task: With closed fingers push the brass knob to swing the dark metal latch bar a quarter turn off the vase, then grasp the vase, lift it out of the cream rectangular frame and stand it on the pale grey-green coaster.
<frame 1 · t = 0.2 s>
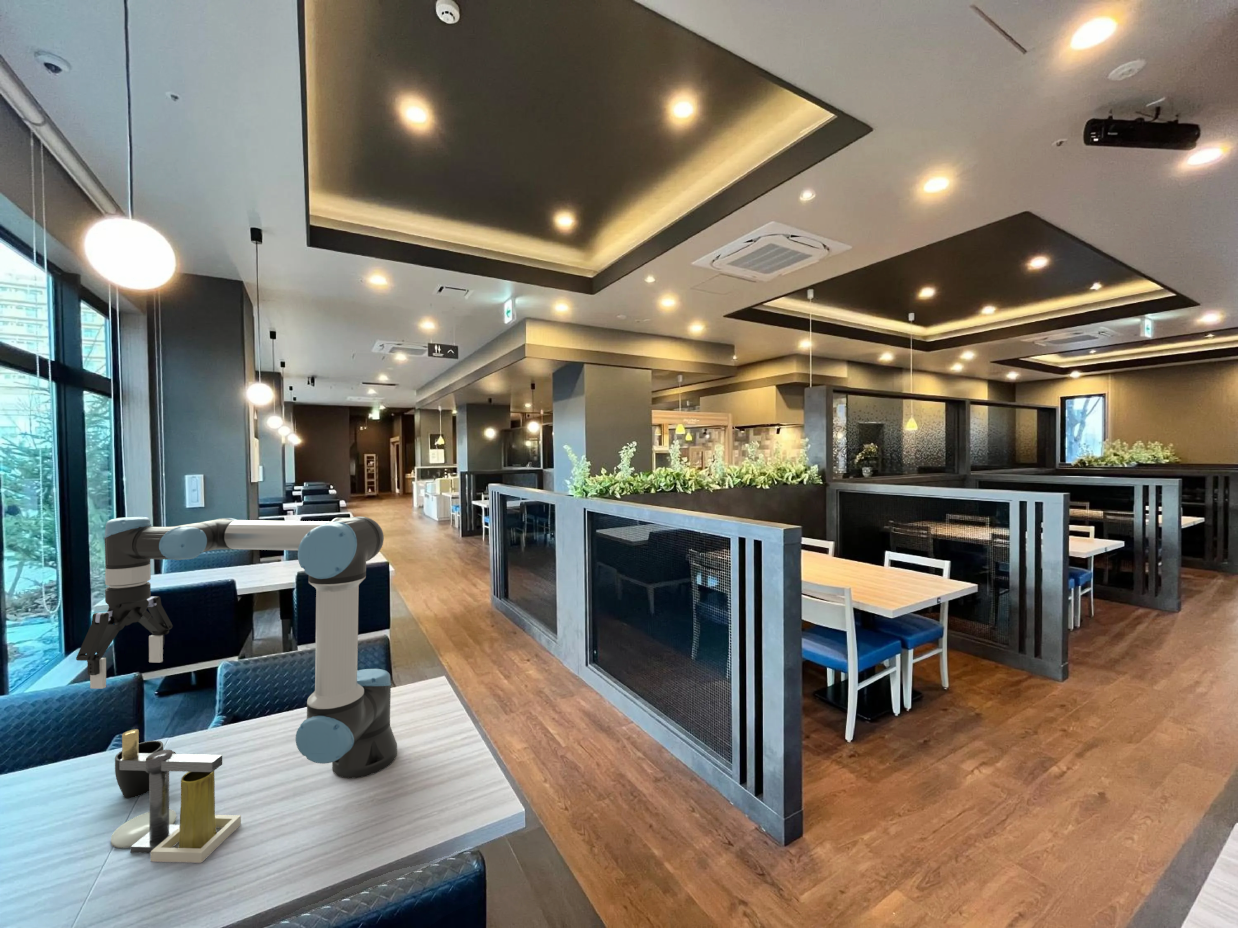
hand: (128, 674, 115), 28 cm above the table, fingers open, 13 cm apart
mug: (147, 790, 117), on the table
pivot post: (159, 840, 102), on the table
latch bar: (170, 750, 101), point 19 cm above the table, hinge at 0.0°
cream rectangular frame: (197, 841, 102), on the table
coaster: (144, 829, 105), on the table
vase: (197, 842, 102), resting in cream rectangular frame
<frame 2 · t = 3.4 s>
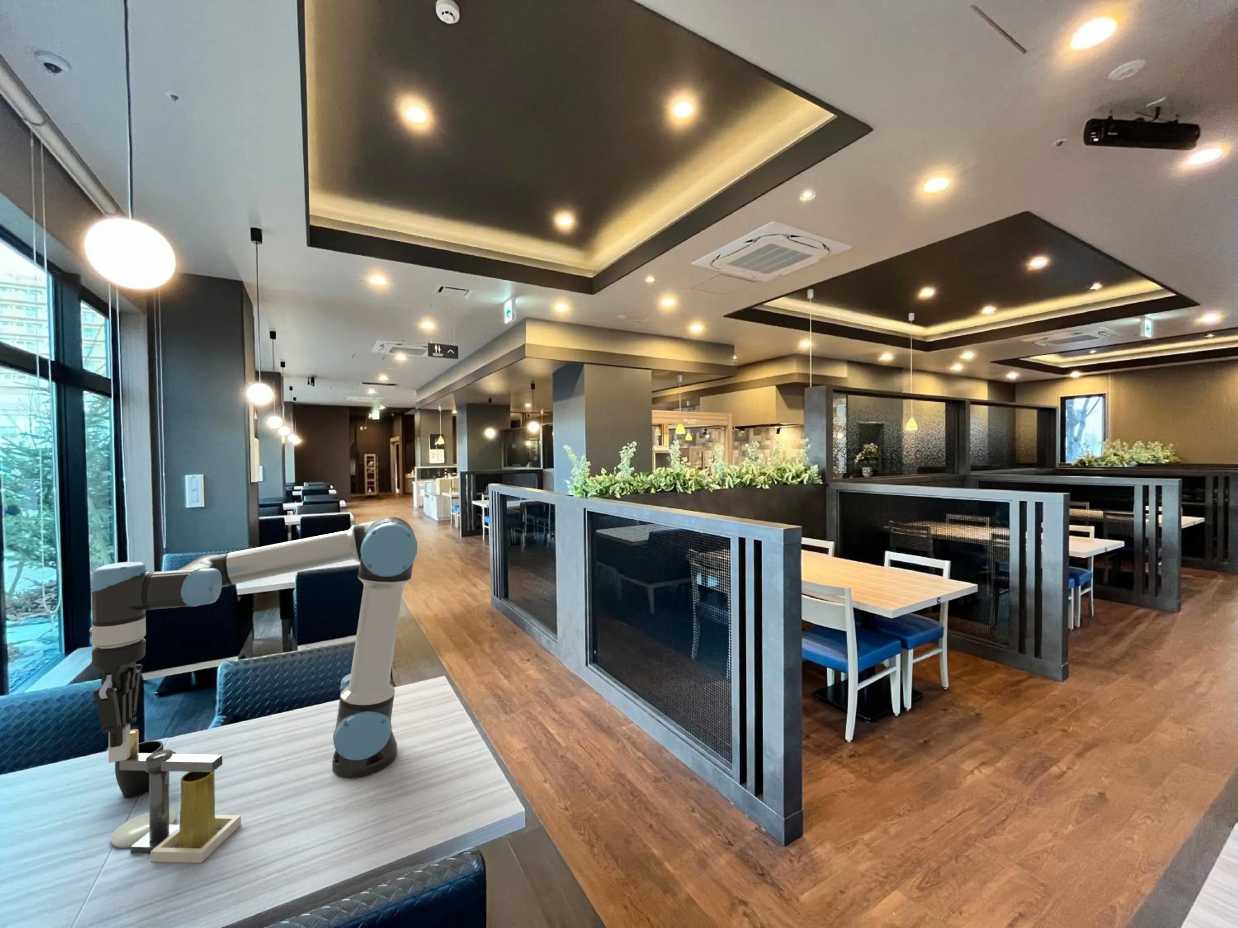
hand: (119, 758, 98), 19 cm above the table, fingers closed
latch bar: (170, 750, 101), point 19 cm above the table, hinge at 0.0°, touching gripper
everything else where it was.
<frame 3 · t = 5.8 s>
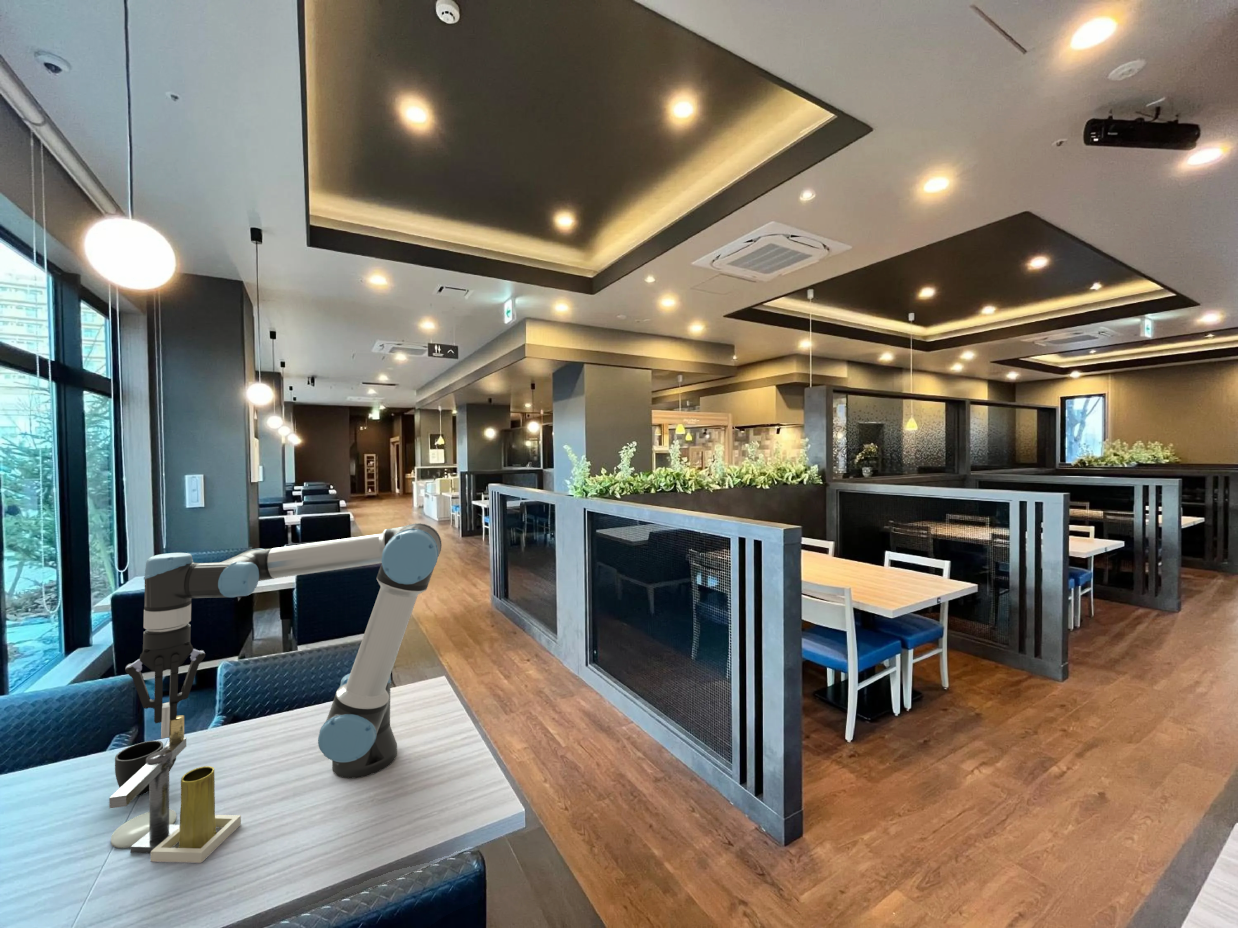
hand: (165, 734, 106), 19 cm above the table, fingers closed
latch bar: (151, 756, 99), point 19 cm above the table, hinge at -74.0°, touching gripper
everything else where it was.
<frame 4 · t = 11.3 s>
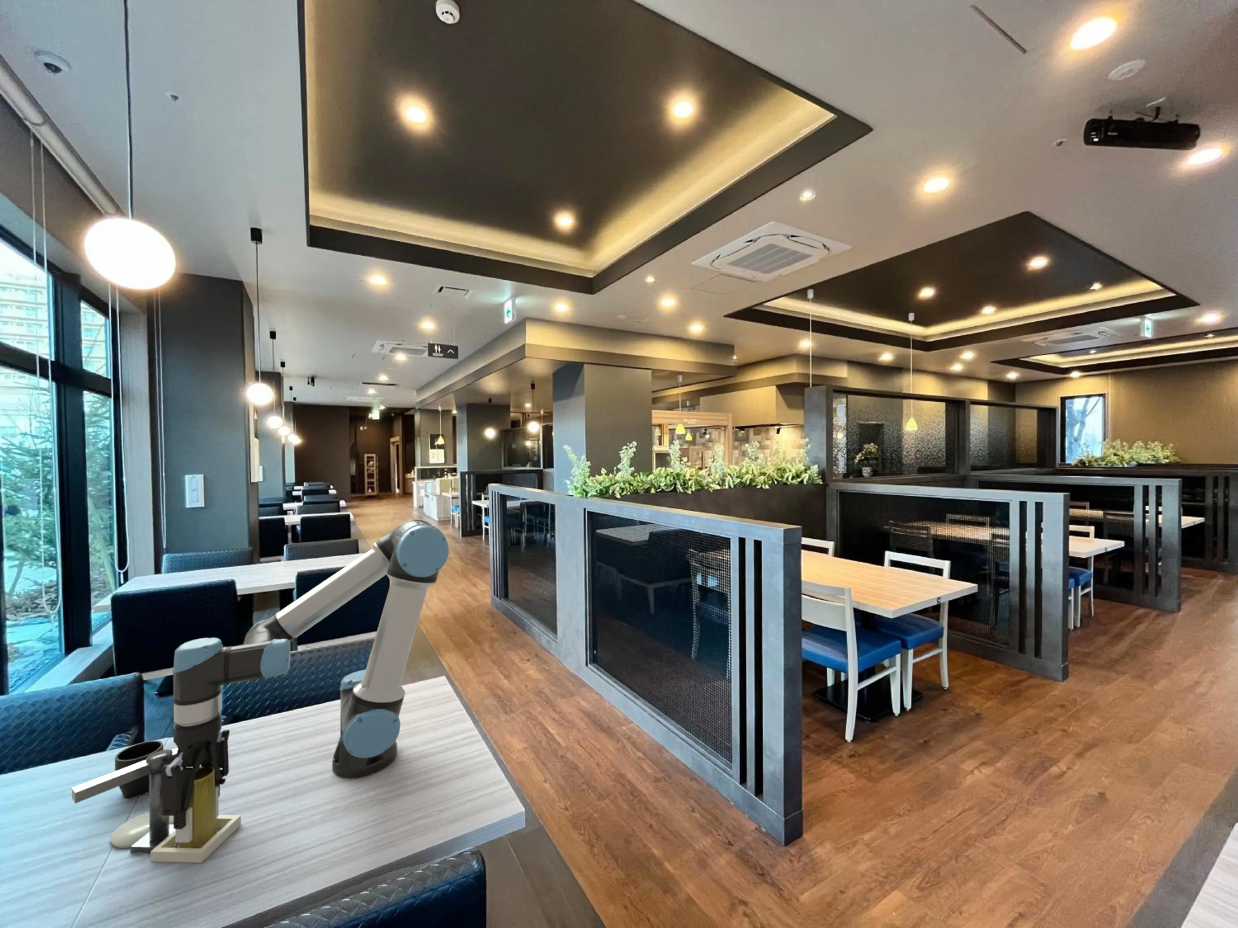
hand: (197, 828, 102), 3 cm above the table, fingers closed on vase, 6 cm apart
latch bar: (143, 755, 99), point 19 cm above the table, hinge at -122.1°
vase: (197, 842, 102), resting in cream rectangular frame, touching gripper
everything else where it was.
when the fingers open (5 cm above the table, at t = 18.2 s): vase drops 1 cm, resting on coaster, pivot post.
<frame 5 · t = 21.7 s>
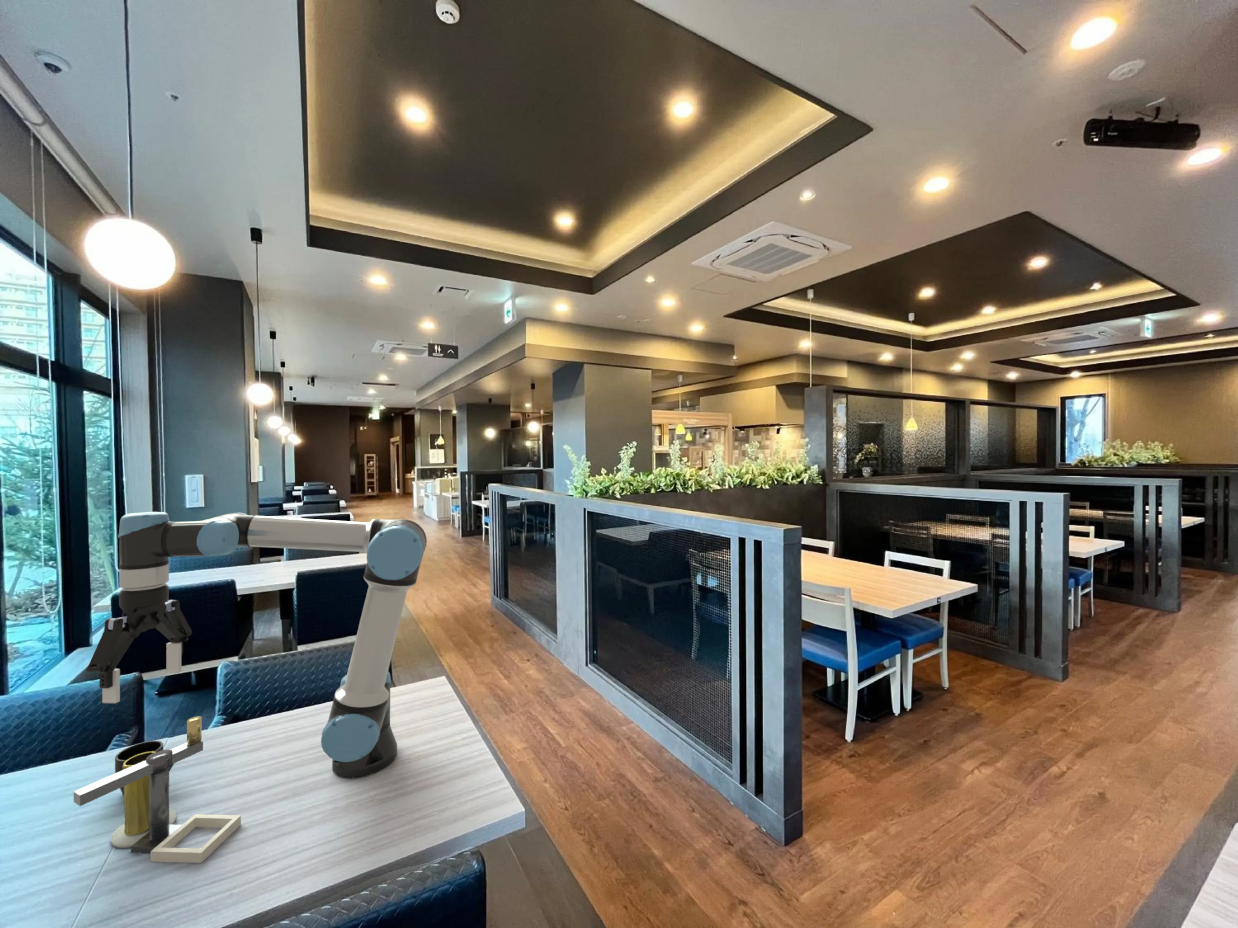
hand: (144, 686, 104), 31 cm above the table, fingers open, 13 cm apart
latch bar: (144, 756, 99), point 19 cm above the table, hinge at -113.9°
vase: (144, 825, 105), point 1 cm above the table, touching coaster, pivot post
everything else where it was.
at the end: latch bar at -114° (first picture: +0°); vase inside the target area on the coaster (0.0 cm from its centre), point 0.8 cm above the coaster's base; vase tilted 4° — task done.
